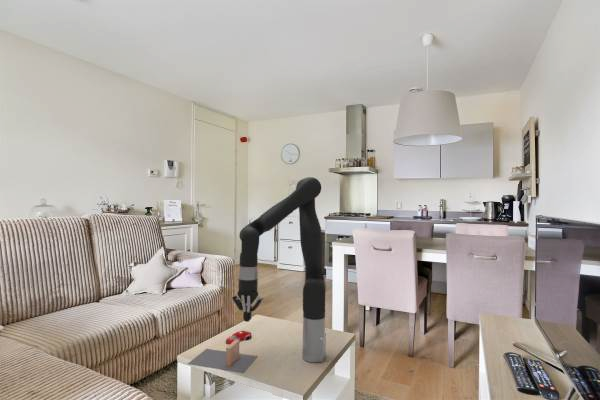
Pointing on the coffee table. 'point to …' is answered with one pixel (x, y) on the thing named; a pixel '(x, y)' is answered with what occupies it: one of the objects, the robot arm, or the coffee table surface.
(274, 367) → the coffee table surface
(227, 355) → the tile
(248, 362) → the mat
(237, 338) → the race car
